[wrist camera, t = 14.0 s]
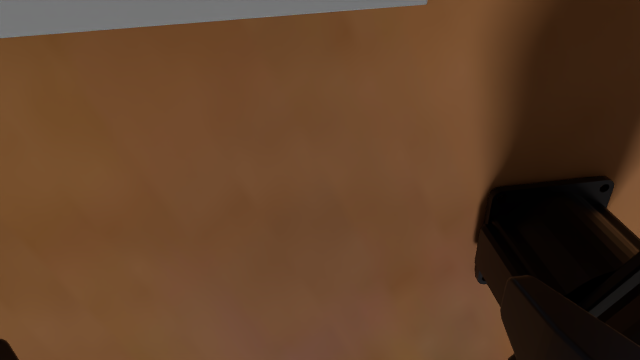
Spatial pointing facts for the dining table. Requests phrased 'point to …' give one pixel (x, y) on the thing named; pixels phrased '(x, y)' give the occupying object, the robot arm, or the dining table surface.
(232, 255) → the dining table surface
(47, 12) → the board
